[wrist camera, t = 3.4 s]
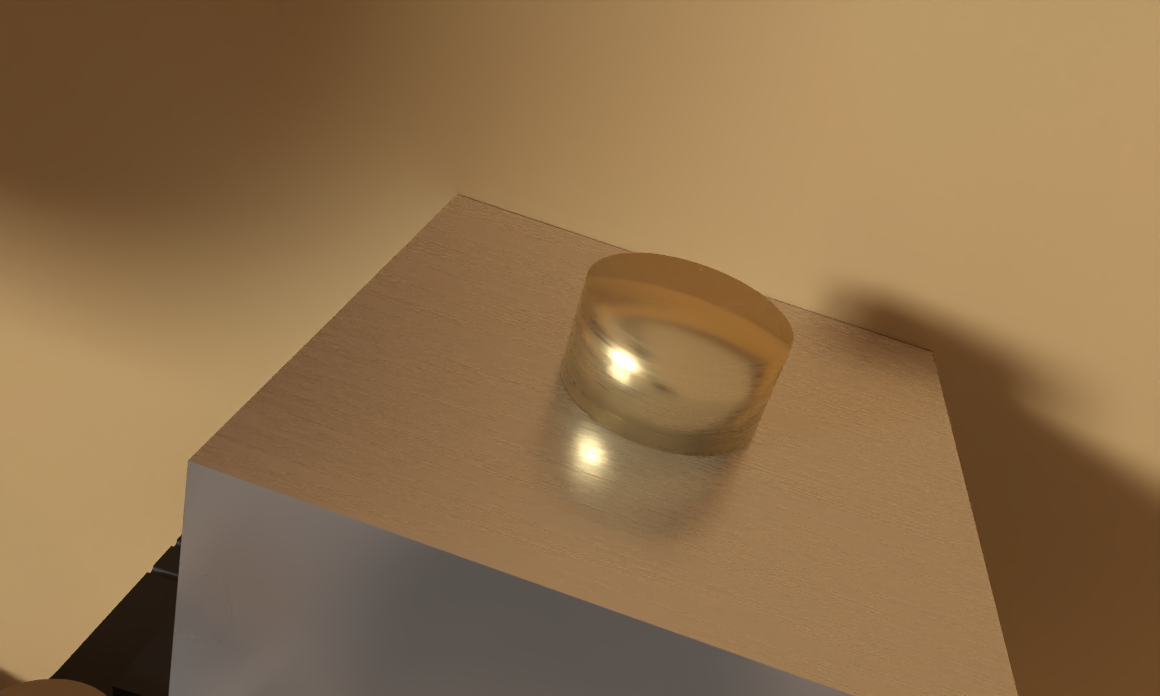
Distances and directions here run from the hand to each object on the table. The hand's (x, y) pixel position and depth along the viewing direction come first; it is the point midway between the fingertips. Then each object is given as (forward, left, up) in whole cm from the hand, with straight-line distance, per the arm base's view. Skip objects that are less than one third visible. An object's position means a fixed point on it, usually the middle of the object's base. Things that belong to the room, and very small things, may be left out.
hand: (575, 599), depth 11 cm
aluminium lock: (0, 0, -1) cm, 1 cm away
